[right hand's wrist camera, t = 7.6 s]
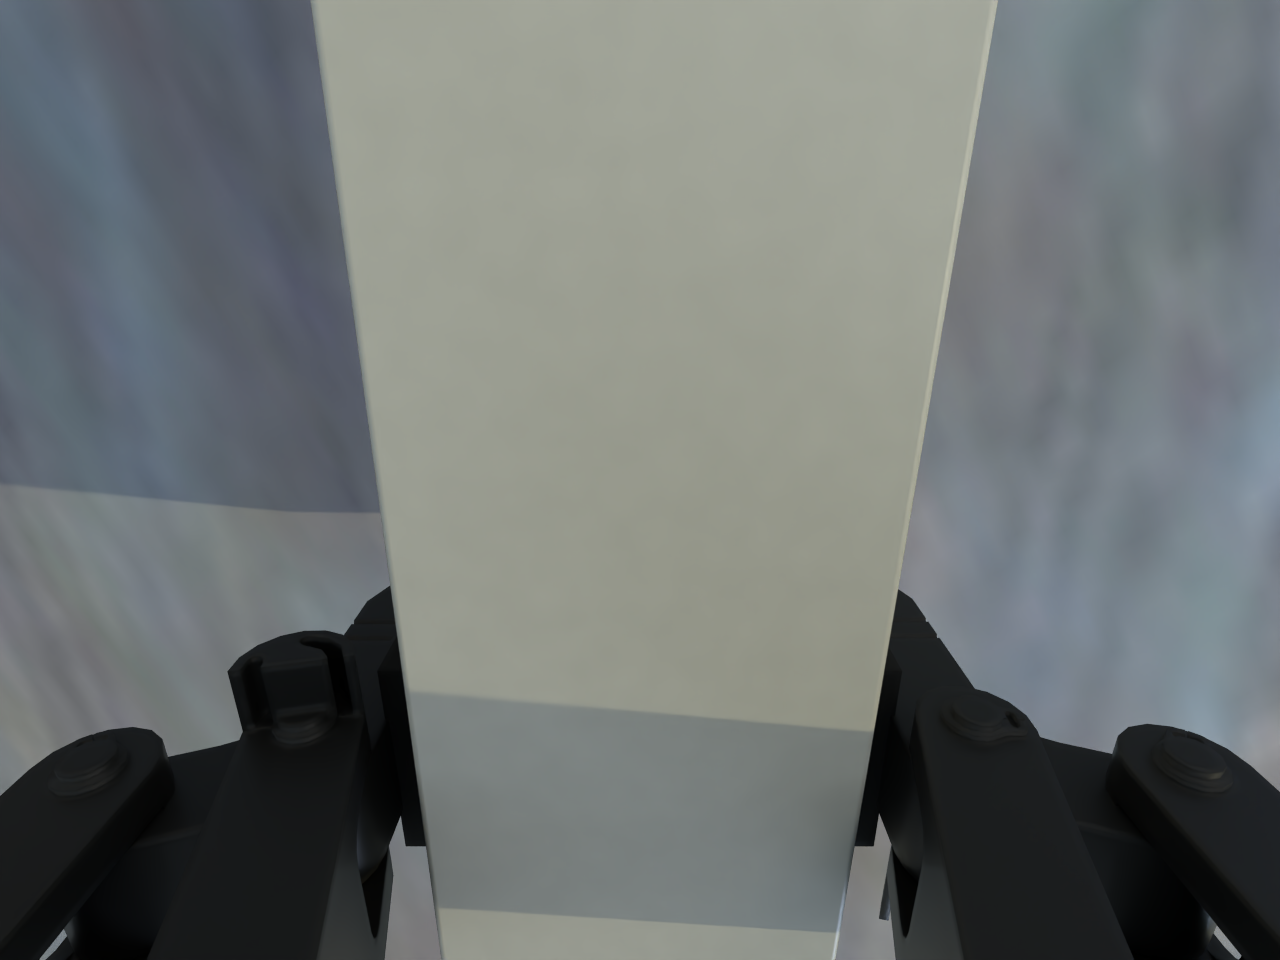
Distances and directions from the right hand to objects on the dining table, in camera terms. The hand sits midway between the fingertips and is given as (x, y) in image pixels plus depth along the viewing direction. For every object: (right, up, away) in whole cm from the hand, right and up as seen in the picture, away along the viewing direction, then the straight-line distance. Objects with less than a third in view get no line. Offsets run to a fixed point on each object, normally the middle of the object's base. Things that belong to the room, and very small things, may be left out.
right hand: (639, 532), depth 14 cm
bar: (0, +23, -9) cm, 25 cm away
